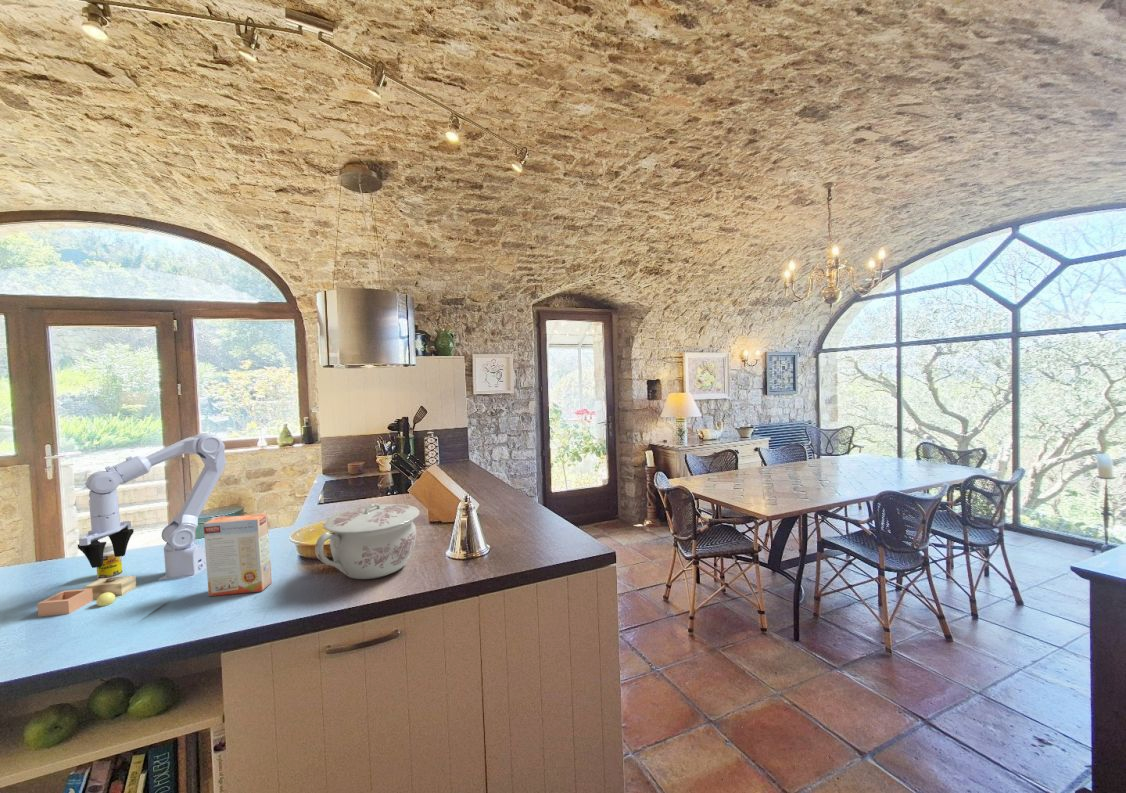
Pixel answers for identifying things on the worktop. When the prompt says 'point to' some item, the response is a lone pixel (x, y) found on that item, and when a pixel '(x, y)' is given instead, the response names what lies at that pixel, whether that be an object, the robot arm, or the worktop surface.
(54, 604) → the pink open box
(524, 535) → the worktop surface
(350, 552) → the chamber pot
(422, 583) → the worktop surface
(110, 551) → the supplement bottle
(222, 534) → the cracker box
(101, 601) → the yellow ball
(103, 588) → the lid
